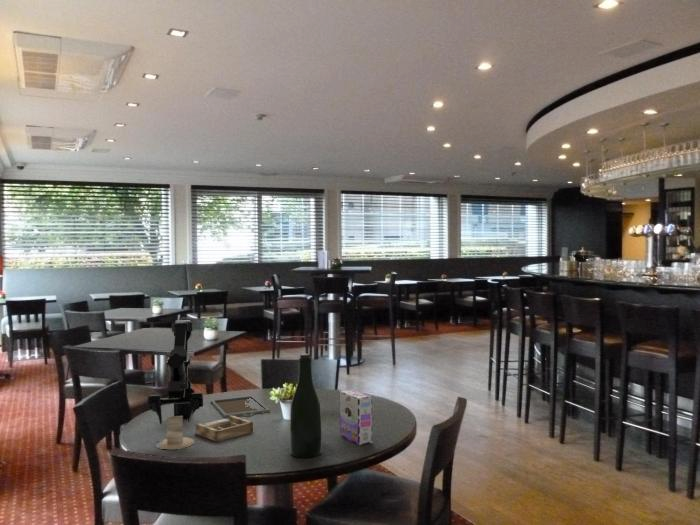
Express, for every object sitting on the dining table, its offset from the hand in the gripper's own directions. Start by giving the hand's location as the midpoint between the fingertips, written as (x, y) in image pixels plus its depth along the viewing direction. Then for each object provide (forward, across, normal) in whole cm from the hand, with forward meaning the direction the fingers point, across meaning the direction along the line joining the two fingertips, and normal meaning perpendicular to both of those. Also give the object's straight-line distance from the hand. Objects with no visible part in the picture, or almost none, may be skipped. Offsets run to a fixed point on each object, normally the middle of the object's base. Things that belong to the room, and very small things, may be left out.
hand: (174, 422), depth 199 cm
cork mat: (+5, 0, +6) cm, 8 cm away
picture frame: (-26, +23, +38) cm, 51 cm away
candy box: (+11, +63, 0) cm, 64 cm away
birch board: (+4, 0, +6) cm, 8 cm away
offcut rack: (-2, +17, +13) cm, 21 cm away
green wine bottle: (+19, +43, -7) cm, 48 cm away
